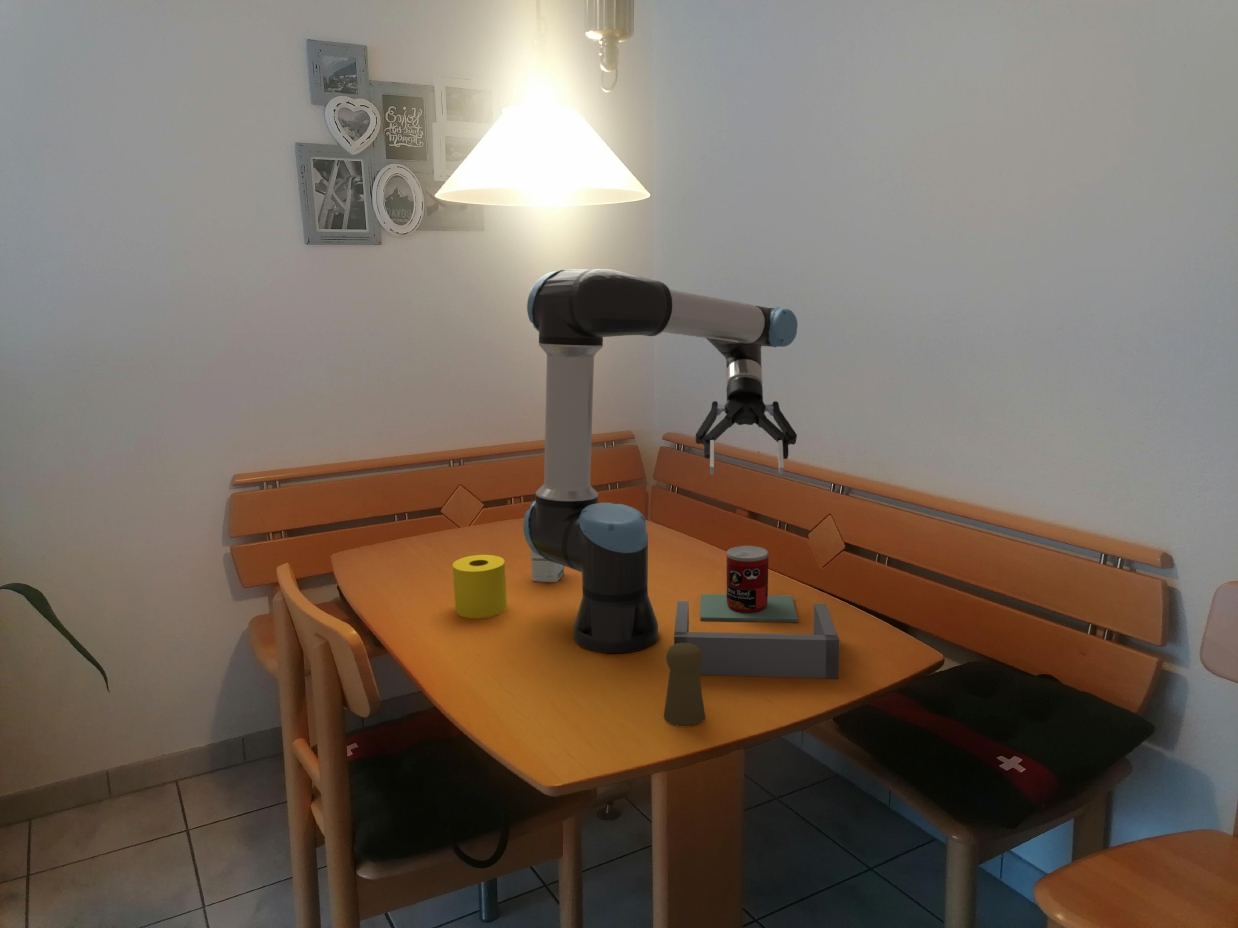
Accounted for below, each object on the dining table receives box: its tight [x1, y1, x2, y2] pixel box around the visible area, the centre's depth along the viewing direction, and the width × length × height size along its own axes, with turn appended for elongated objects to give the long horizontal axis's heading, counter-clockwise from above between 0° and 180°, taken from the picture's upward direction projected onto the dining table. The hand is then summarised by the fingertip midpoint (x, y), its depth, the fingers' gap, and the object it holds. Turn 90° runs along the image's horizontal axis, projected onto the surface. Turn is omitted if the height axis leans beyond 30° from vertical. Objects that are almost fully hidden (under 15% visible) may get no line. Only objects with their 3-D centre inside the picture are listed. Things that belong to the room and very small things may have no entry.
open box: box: [673, 600, 840, 679], centre depth 143 cm, size 26×16×6 cm, turn 84°
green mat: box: [699, 593, 799, 623], centre depth 164 cm, size 18×12×1 cm, turn 84°
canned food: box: [726, 545, 769, 613], centre depth 163 cm, size 8×8×11 cm
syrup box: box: [529, 547, 565, 583], centre depth 183 cm, size 6×6×14 cm
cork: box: [663, 643, 706, 727], centre depth 123 cm, size 6×6×11 cm
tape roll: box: [452, 554, 508, 619], centre depth 167 cm, size 10×10×9 cm
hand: (746, 471), depth 168 cm, fingers open, 13 cm apart
